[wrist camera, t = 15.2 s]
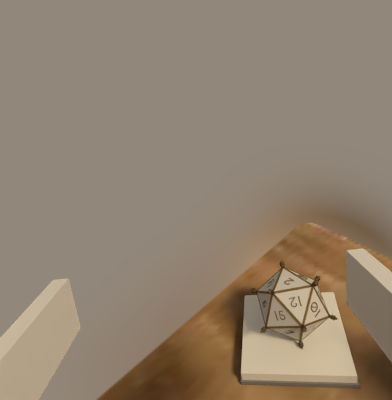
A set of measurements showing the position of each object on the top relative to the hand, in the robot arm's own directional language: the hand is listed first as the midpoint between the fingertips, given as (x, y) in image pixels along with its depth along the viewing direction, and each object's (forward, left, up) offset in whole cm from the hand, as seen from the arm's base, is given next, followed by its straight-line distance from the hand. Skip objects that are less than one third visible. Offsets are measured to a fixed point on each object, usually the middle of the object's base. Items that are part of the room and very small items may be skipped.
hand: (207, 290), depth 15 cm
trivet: (+4, +17, -24) cm, 29 cm away
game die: (+4, +17, -22) cm, 28 cm away
